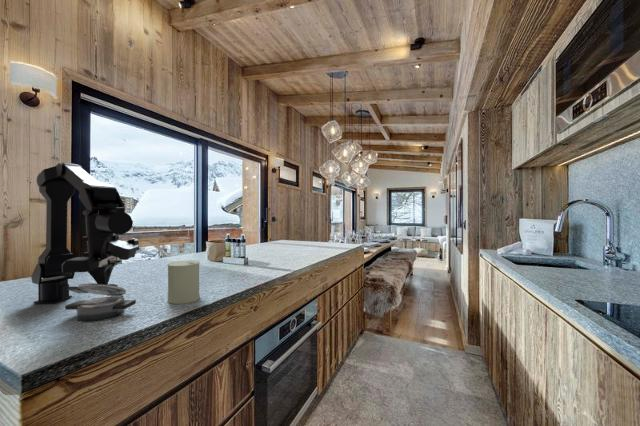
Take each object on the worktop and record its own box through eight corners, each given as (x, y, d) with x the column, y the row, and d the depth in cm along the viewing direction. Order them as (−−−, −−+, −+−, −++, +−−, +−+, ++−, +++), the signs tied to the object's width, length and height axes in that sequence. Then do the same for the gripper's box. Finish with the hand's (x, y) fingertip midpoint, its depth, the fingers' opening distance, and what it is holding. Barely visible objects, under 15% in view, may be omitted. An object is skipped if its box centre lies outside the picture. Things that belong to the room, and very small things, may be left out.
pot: (55, 322, 70) (55, 308, 70) (91, 307, 82) (91, 295, 82) (118, 321, 71) (118, 307, 71) (144, 306, 82) (144, 294, 82)
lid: (57, 286, 71) (59, 281, 71) (87, 296, 80) (89, 291, 81) (110, 286, 71) (112, 280, 72) (133, 295, 81) (135, 291, 81)
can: (187, 305, 84) (187, 264, 84) (160, 303, 85) (160, 263, 85) (205, 296, 93) (205, 259, 93) (181, 294, 94) (181, 258, 94)
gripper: (107, 237, 66) (111, 301, 67) (150, 227, 85) (152, 277, 86) (57, 237, 66) (62, 302, 67) (112, 227, 84) (115, 278, 85)
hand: (103, 288), depth 76 cm, fingers closed, pressing on lid
